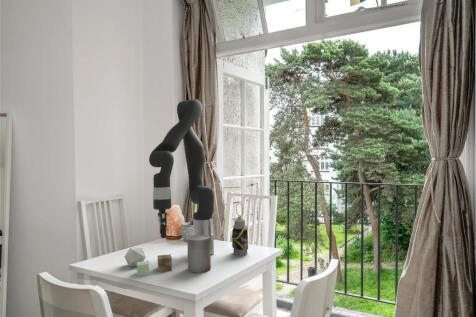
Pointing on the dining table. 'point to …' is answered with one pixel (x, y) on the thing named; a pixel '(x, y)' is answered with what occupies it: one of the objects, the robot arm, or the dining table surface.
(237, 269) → the dining table surface
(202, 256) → the grey upright cylinder
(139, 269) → the green block
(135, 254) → the die
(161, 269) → the walnut block
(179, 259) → the dining table surface
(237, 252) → the lantern
